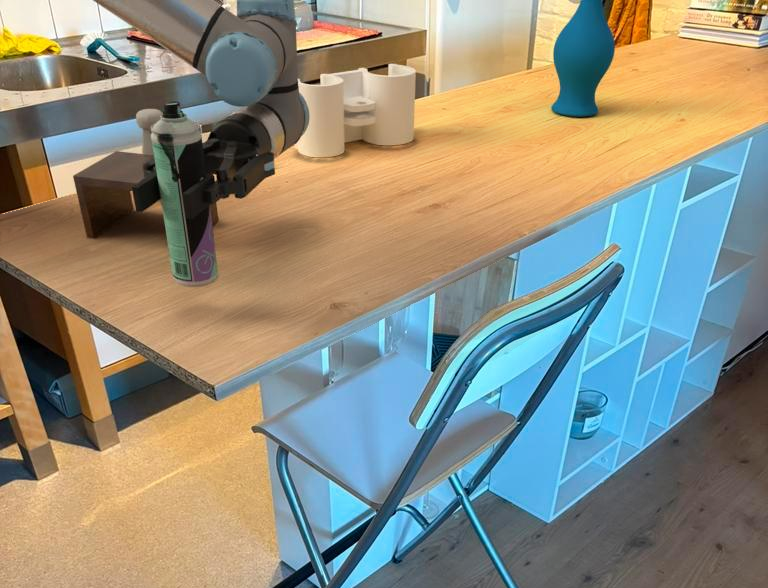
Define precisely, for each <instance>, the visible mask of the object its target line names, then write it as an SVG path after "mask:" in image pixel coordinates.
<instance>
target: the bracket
mask: <svg viewBox="0 0 768 588" xmlns="http://www.w3.org/2000/svg"><path fill="white" fill-rule="evenodd" d="M387 74H388V75H384V74H375V73H371V72H370V71H368V68H366V67H359V68H358V69H356V70H355V69H353V70H348V71H340V72H334V73H321V74H320V75H319V76H320V78H319V79H320V81H319V82H320V84H309V83H304V82H301V79H300V78H299V77H298V86H299V93H300V94H301V95H302V96H303V97H304V99H305V101H306V103H307V105H308V108H309V114H310V118H309V124H308V127H307V130H306V131H305V133H304V134H303V135H302V136H301V138H300V140H299V141H298V142H297V143H296V144H294V146H295V150H297V151H298V153H299V154H300V155H302V156H305V157H309V158H333V157H337V156H341V155H342V154H344V152H345V150H346V149H345V143H350V142H355V141H361V140H363V141H364V142H366V143H369V144H372V145H377V146H400V145H406V144H409V143H410V142H412V141H414V138H415V137H414V136H415V135H414V134H415V110H416V109H415V106H416V81H417V80H416V79H417V78H416V77H417V76H416V75H417V71H416V69H415V68H414V67H411V66H408V65H402V64H397V63H388V73H387Z"/></svg>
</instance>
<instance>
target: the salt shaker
mask: <svg viewBox="0 0 768 588" xmlns="http://www.w3.org/2000/svg"><path fill="white" fill-rule="evenodd" d="M162 114H163V111H161V110H160V109H157V108H144V109H141V110H138V111H137V112H136V115H135V120H136V124H137V127H138V128H140V129H142V131H141V133H142V144H141V145H142V146H141V147H142V148H141V149H142V150H141V154H147V155H154V152H153V146H152V140H151V134H152V132H151V126H152V125H153V124H155V123H157V122H158V121H159V120H160V119H161V117H160V116H161V115H162Z"/></svg>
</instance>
